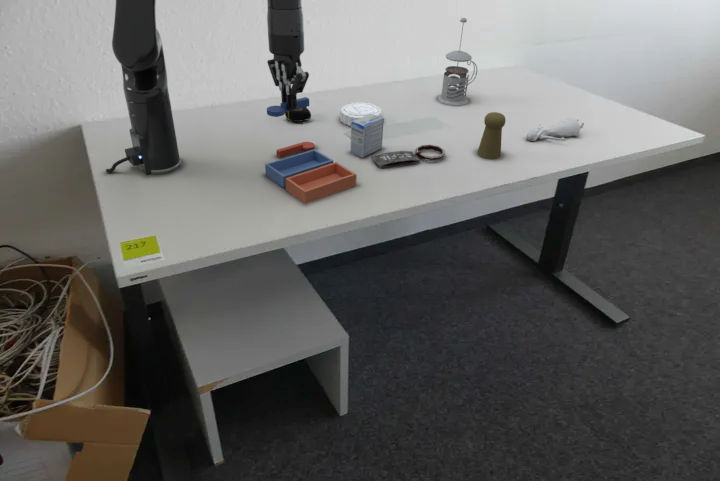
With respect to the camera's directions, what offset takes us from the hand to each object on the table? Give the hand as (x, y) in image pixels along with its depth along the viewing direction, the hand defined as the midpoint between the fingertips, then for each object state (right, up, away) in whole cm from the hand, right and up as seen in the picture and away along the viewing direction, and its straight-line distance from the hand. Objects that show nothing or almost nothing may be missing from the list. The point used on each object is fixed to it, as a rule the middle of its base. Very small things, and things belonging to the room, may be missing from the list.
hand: (289, 108), depth 126 cm
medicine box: (+18, -7, +18) cm, 26 cm away
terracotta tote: (+7, -18, +1) cm, 20 cm away
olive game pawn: (+50, -8, +19) cm, 54 cm away
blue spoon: (0, 0, 0) cm, 1 cm away
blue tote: (+2, -14, +6) cm, 15 cm away
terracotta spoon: (0, -7, +16) cm, 18 cm away
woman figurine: (+70, -1, +30) cm, 76 cm away
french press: (+47, +15, +52) cm, 71 cm away
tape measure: (-2, +5, +34) cm, 35 cm away
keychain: (+29, -10, +15) cm, 34 cm away
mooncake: (+16, +5, +35) cm, 39 cm away
